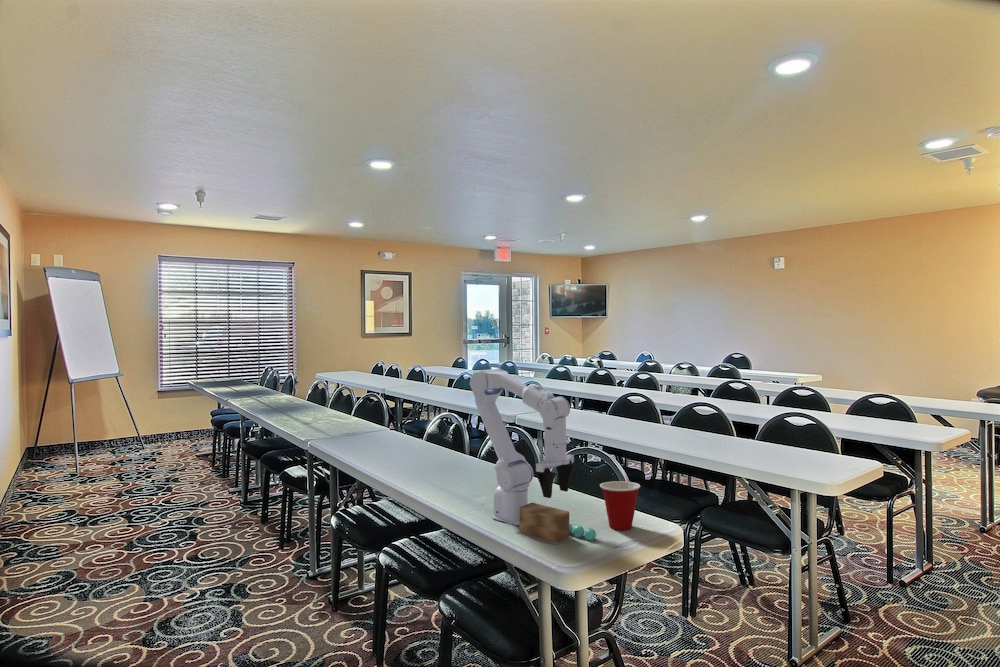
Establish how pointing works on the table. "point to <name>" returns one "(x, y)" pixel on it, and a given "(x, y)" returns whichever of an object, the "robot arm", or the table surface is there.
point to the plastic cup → (620, 503)
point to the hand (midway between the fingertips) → (555, 493)
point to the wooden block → (544, 522)
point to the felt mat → (542, 539)
